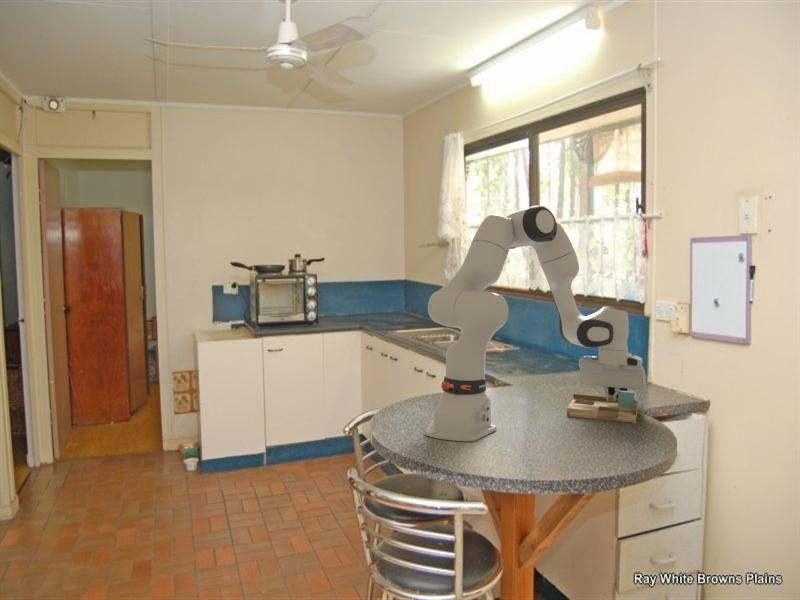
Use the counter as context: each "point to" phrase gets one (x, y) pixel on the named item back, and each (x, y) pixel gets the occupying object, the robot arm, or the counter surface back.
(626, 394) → the block
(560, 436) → the counter surface
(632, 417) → the wooden tray
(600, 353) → the robot arm
